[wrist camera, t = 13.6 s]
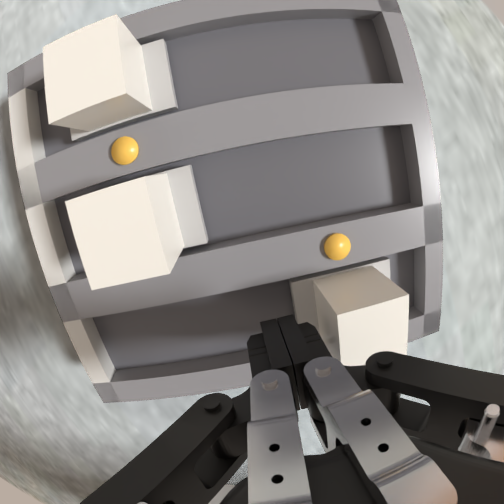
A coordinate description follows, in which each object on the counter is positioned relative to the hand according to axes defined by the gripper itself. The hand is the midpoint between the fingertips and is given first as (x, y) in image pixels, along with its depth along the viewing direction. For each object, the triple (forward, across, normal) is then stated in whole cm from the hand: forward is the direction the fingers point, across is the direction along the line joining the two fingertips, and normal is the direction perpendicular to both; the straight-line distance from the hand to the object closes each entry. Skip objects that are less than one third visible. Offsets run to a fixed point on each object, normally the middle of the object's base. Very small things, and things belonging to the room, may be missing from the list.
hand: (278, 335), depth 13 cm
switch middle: (+2, +5, -6) cm, 8 cm away
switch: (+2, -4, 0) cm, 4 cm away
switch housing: (+5, 0, -6) cm, 8 cm away
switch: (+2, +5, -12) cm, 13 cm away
